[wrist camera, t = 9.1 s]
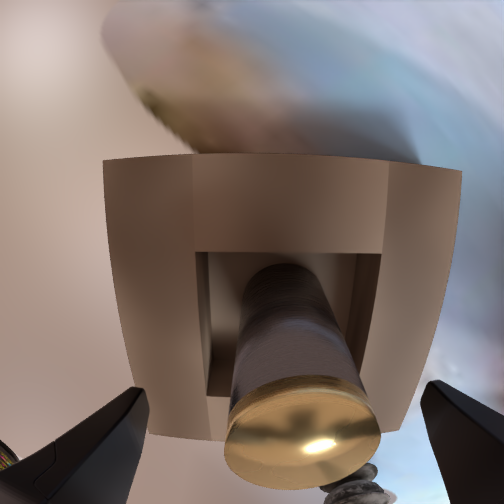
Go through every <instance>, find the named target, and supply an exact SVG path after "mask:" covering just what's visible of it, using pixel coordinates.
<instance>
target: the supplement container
mask: <svg viewBox="0 0 504 504" xmlns="http://www.w3.org/2000/svg"><path fill="white" fill-rule="evenodd" d="M17 462H19V459H18V458H17V456H16V455H15V454H14V452H13V451H12V450H11V449H10V448H9V447H8V446H7V445H6V444H4V443H3V442H2V441H1V440H0V470H2V469H4V468H6V467H9V466H11V465H13V464H15V463H17Z"/></svg>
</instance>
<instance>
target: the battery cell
mask: <svg viewBox="0 0 504 504" xmlns="http://www.w3.org/2000/svg"><path fill="white" fill-rule="evenodd" d="M380 439H381V431H380V428H379V425H378V422H377V420H376V417H375V414H374V412H373V409H372V406H371V404H370V401H369V399H368V396H367V393H366V391H365V388H364V386H363V383H362V381H361V378H360V376H359V373H358V371H357V368H356V366H355V363H354V361H353V358H352V356H351V354H350V351H349V349H348V346H347V344H346V341H345V339H344V337H343V334H342V332H341V330H340V327H339V325H338V323H337V320H336V318H335V316H334V313H333V311H332V309H331V306H330V304H329V302H328V299H327V297H326V295H325V293H324V290H323V288H322V286H321V284H320V282H319V280H318V279H317V278H316V276H315V275H314V274H313V273H312V272H310V271H309V270H307V269H306V268H304V267H302V266H299V265H295V264H289V263H280V264H274V265H271V266H268V267H266V268H263V269H262V270H260V271H259V272H257V273H256V274H255V275H254V276H253V277H252V278H251V279H250V280H249V282H248V283H247V285H246V287H245V290H244V293H243V298H242V306H241V314H240V322H239V331H238V339H237V347H236V355H235V364H234V372H233V380H232V389H231V397H230V405H229V414H228V422H227V431H226V439H225V448H224V456H225V460H226V462H227V465H228V466H229V467H230V469H231V470H232V471H233V472H234V473H235V474H237V475H238V476H239V477H241V478H242V479H244V480H246V481H248V482H250V483H253V484H255V485H259V486H262V487H266V488H273V489H282V490H299V489H308V488H314V487H319V486H323V485H326V484H330V483H332V482H335V481H338V480H340V479H342V478H344V477H347V476H348V475H350V474H352V473H354V472H355V471H357V470H358V469H359V468H361V467H362V466H363V465H364V464H366V463H367V462H368V461H369V460H370V459H371V457H372V456H373V455H374V453H375V452H376V450H377V448H378V446H379V443H380Z"/></svg>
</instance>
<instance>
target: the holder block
mask: <svg viewBox="0 0 504 504" xmlns="http://www.w3.org/2000/svg"><path fill="white" fill-rule="evenodd" d="M103 178H104V198H105V211H106V223H107V233H108V243H109V252H110V260H111V267H112V274H113V281H114V288H115V294H116V299H117V305H118V311H119V316H120V322H121V327H122V332H123V337H124V341H125V346H126V350H127V355H128V359H129V363H130V367H131V371H132V375H133V379H134V383H135V387H140V388H144V390H145V392H146V395H147V399H148V403H149V407H150V413H149V418H148V423H147V428H148V431H149V433H150V434H154V435H161V436H169V437H177V438H186V439H196V440H208V441H224V442H225V439H226V431H227V422H228V414H229V405H230V397H231V389H232V380H233V372H234V364H235V355H236V347H237V339H238V331H239V322H240V314H241V306H242V298H243V293H244V290H245V287H246V285H247V283H248V282H249V280H250V279H251V278H252V277H253V276H254V275H255V274H256V273H257V272H259V271H260V270H262V269H263V268H266V267H268V266H271V265H274V264H280V263H289V264H295V265H299V266H302V267H304V268H306V269H307V270H309V271H310V272H312V273H313V274H314V275H315V276H316V278H317V279H318V280H319V282H320V284H321V286H322V288H323V290H324V293H325V295H326V297H327V299H328V302H329V304H330V306H331V309H332V311H333V313H334V316H335V318H336V320H337V323H338V325H339V327H340V330H341V332H342V334H343V337H344V339H345V341H346V344H347V346H348V349H349V351H350V354H351V356H352V358H353V361H354V363H355V366H356V368H357V371H358V373H359V376H360V378H361V381H362V383H363V386H364V388H365V391H366V393H367V396H368V399H369V401H370V404H371V406H372V409H373V412H374V414H375V417H376V420H377V422H378V425H379V428H380V431H381V433H385V432H391V431H397V430H399V429H400V426H401V424H402V422H403V420H404V417H405V415H406V413H407V410H408V408H409V406H410V403H411V401H412V398H413V396H414V393H415V390H416V388H417V385H418V382H419V380H420V377H421V374H422V371H423V368H424V366H425V363H426V360H427V357H428V353H429V350H430V347H431V344H432V341H433V337H434V334H435V330H436V327H437V323H438V320H439V316H440V312H441V308H442V304H443V300H444V296H445V291H446V287H447V282H448V277H449V272H450V267H451V262H452V256H453V250H454V244H455V238H456V231H457V223H458V215H459V206H460V195H461V182H462V171H459V170H453V169H447V168H440V167H434V166H427V165H420V164H412V163H404V162H395V161H386V160H377V159H366V158H354V157H341V156H326V155H307V154H279V153H210V154H183V155H163V156H149V157H135V158H124V159H112V160H103Z"/></svg>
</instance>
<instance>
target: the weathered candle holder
mask: <svg viewBox="0 0 504 504" xmlns="http://www.w3.org/2000/svg"><path fill="white" fill-rule="evenodd" d="M377 473H378V470H377V467H376V466H375V465H373V464H370V463H366V464H364V465H363V466H362V467H361V468H359V469H358V470H357V471H355V472H354V473H352V474H350V475H348V476H347V477H344V478H342V479H340V480H338V481H335V482H332V483H330V484H326V485H323V486H319V487H320V489H321V490H323V491H324V492H327V493H329V494H328V495H327V497H326V498H325V501H324V504H388V503H389V501H390V496H389V495H388V494H386V493H384V490H383V489H382V488H381V487H380V486H379V485H378V484H377V483H375V482H372V480H373V479H374V478H375V477H376V476H377Z"/></svg>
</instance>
